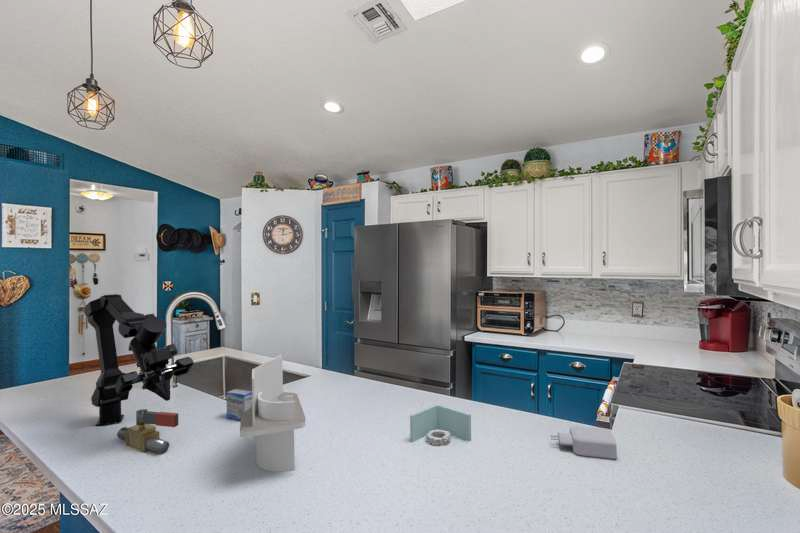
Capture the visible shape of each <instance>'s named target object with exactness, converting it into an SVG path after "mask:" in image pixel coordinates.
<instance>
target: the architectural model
mask: <svg viewBox="0 0 800 533" xmlns="http://www.w3.org/2000/svg"><path fill="white" fill-rule="evenodd" d="M283 370H284V368H283V354H279V355H277V356H275V357H273V358H271V359H269V360H268V361H266V362H264V363H262V364H260V365H258V366H256V367H254V368H252V369H251V391H252V407H251V408H249V409H248V410H246V411H245V412H244V413H242V414H241V421H240V428H239V437H240V438H250V437H255V446H256V447H255V451H256V452H255V453H256V454H255V455H256V457H255V458H256V459H255V460H256V461H255V462H256V465H257V466H258V467H259V468H260V469H262V470H265V471H267V472H268V471H269V472H273V473H276V472H277V473H284V472H285V473H286V472H291V471H295V469H296V468H295V430H298V429H303V428H305V427H306V416H305V412H304V410H303V407H302V404H301V402H300V398H299V396H298V394H297V393H295V392H284V382H283V381H284V379H283V378H284V377H283V376H284V375H283Z"/></svg>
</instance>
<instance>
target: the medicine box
mask: <svg viewBox="0 0 800 533" xmlns="http://www.w3.org/2000/svg"><path fill="white" fill-rule="evenodd" d="M251 407H252V390H247V389H237V388H233V389H232V390H231V389H230V390H229V391H227V392H226V419H227V420H234V421H240V422H241V414H242V413H244V412H245V411H246V410H248V409H249V408H251Z"/></svg>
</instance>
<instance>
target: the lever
mask: <svg viewBox="0 0 800 533" xmlns="http://www.w3.org/2000/svg"><path fill="white" fill-rule="evenodd" d="M135 419H136V420H135V422H136V424H135V425H144V424H150V425H153V426H158V427H168V428H175V427H176V428H177V427H178V426H179V413H177V412H168V411H167V412H166V411H152V410H151V411H149V410H148V409H147V408H143V409H139V410H136V411H135Z"/></svg>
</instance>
